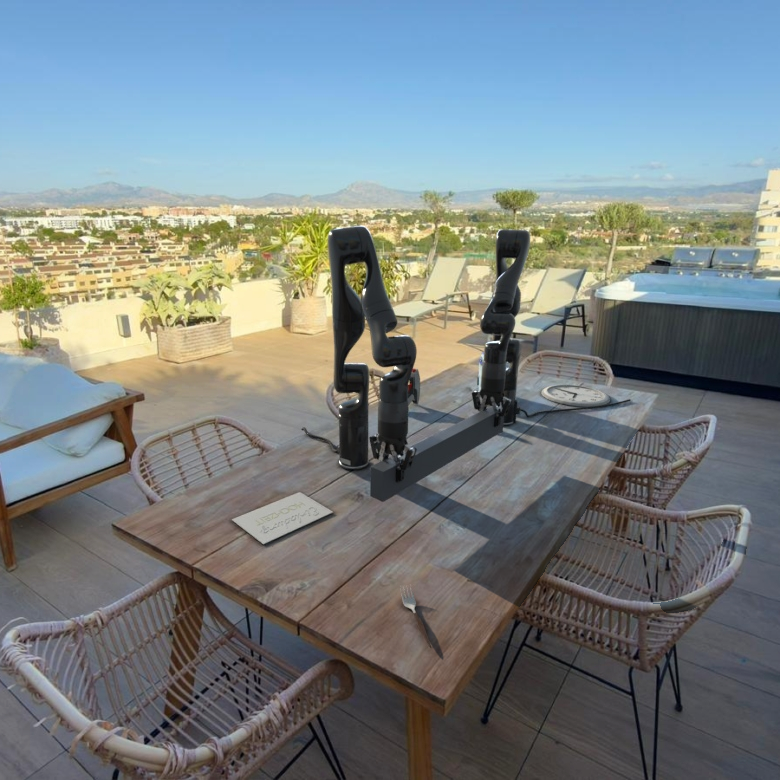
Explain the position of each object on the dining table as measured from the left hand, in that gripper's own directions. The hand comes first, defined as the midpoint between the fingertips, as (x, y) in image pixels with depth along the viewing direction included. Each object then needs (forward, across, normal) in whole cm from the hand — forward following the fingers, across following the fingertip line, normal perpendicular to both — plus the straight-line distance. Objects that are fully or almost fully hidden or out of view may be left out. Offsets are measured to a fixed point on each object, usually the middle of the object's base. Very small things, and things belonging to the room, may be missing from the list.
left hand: (391, 478), depth 134 cm
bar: (+4, 0, +25) cm, 26 cm away
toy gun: (+13, -49, +72) cm, 88 cm away
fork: (+11, +28, -26) cm, 40 cm away
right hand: (0, 0, +51) cm, 51 cm away
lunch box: (+13, -29, +106) cm, 111 cm away
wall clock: (+13, -2, +136) cm, 137 cm away
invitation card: (+11, -21, -18) cm, 30 cm away
